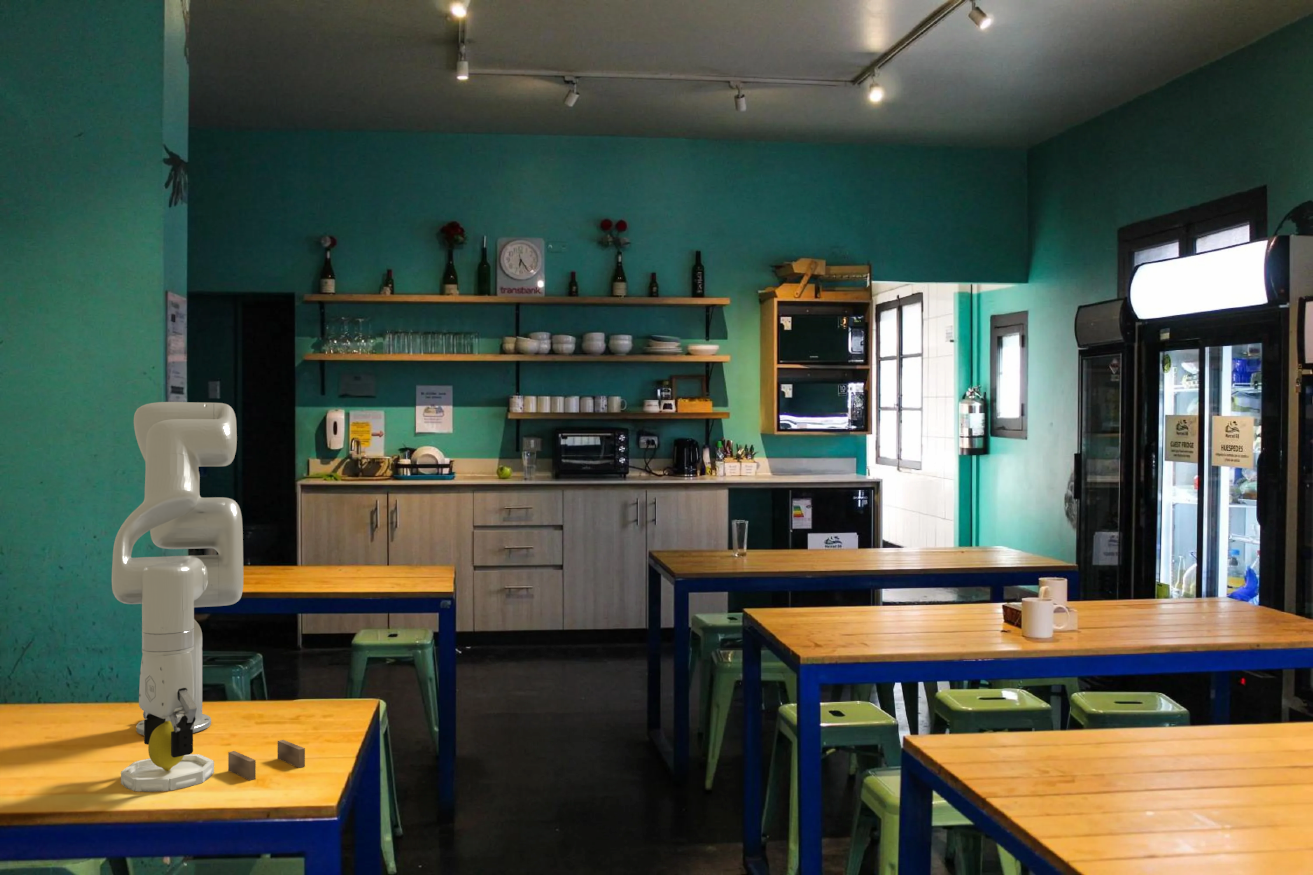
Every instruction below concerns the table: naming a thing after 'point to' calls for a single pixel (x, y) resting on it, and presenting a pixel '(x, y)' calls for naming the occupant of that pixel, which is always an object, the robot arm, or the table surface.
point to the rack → (248, 765)
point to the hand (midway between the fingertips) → (168, 748)
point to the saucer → (167, 774)
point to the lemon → (162, 747)
